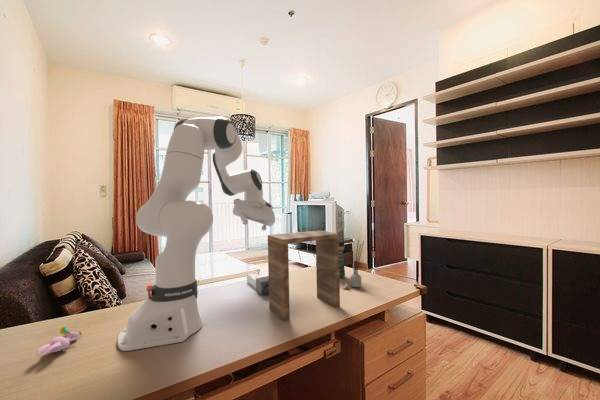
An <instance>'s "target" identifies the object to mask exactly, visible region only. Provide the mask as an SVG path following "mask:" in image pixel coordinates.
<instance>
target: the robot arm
mask: <svg viewBox="0 0 600 400" xmlns="http://www.w3.org/2000/svg"><path fill="white" fill-rule="evenodd" d="M173 127H174V128H173V131H172V134H171V136H170V138H169V142H168V145H167V148H166V153H165V158H164V163H163V167H162V172H161V176H160V179H159V181H158V183H157V186H156V188H155V189H154V191H153V193H152V194H151V195H150V197H149V199H148V200H147V201H146V202H145V203H144V204H143V205H141V206H140V208H138V210H137V212H136V216H135V222H136V226H137V227H138V229H139V231H141V232H143V233H146V234H148V235H151V236H155V237H165V238H166V241H165V242H166V243H165V247H164V249H163V250H162V252H160V253H159V254H158V255H157V256H156V258H155V261H154V265H155V284H154V285H153V283H150V284H147V286H146V287H145V289H146V292H147V297H148V299H146V301H144V302H143V303H142V304H141V305H139V307H137V308H136V309H135V310H133V311H132V312H131V314H130V316H129V318H128V321H127V323H126V327H125V328H124V329H123V330H122V331H121V332H120V333H119V335H118V337H117V347H118V349H119V350H121V351H123V352H128V351H134V350H140V349H141V350H142V349H147V348H153V347H154V348H155V347H159V346H165V345H170V344H177V343H181V342H185V341H186V340H187V339H188V338H189V337H190V336H191V335H193V334H195V333H196V332H199V330H200V329H201V328H202V326H203V321H202V318H201V315H200V311H199V307H198V300H197V299H198V296H199V295H198V293H199V291H198V290H199V289H198V281H197V278H196V255H197V250H198V248H199V245H200V242H201V241H202V239H203V238H204V237H205V236H206V235H208V233H209V232H210V231H211V228H212V227H213V223H214V214H213V211H212V209H211V208H210V207H209V206H208V204H205V203H203V202H198V201H194V200H187V199H188V196H190V194H191V193H192V192H193V191H195V190H196V189H197V188H198V187H199V185H200V183H201V177H202V171H203V165H204V159H205V158H204V157H205V150H206V151H211V150H214V153H213V154H212V163H213V167H214V170H215V172H216V175H217V177H218V180H219V182H220V186H221V190H222V191H223V193H224V194H225V195H226V196H230V197H232V196H235V195H238V194H241V193H244V196H245V199H244V200H243V199H240V198H235V199H234V200H233V204H234V205H233V209H232V214H233V215H234V216H235V217H240V220H241V221H242V225H245V226H246V225H247V224H248V221H253V222H256V223H259V224H262V226H261V231H264V232H265V231H266V230H267V227H272V226H273V225H274V224H275V222H276V216H275V212H274V210H273V209H274V207H273V205H272V204H271V203H269V202H267V201H266V200H265V199H264V197H263V195H264V189H263V181H262V178H261V175H260V173H259V172H257V171H256V170H254V169H252V168H250V169H246V170H243V171H242V170H241V171H240V172H235V173H228V170H227V166H229V165H231V164H233V163H234V162H236V161H237V160H238V159H239V158H240V156H241V155H242V153H243V144H242V140H241V138H240V136H239V133H238V132H237V130H236V127H235V125H234V123H233V122H232V121H231V120H230V119H228V118H225V117H224V116H219V115H218V116H214V117H204V116H203V117H201V116H200V117H193V118H184V119H181V120H179V121H177V122H176V124H175V125H174V126H173Z"/></svg>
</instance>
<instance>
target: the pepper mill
mask: <svg viewBox="0 0 600 400" xmlns="http://www.w3.org/2000/svg"><path fill="white" fill-rule="evenodd" d="M246 283H247V284H248V285H249V286H251V287H252V288H253V289H254V290H255V292H256V293H257V294H259V295H260V296H261V297H263V296H267V295H268V296H269V275H267V276H261V275H259V274H258V273H256V272H252V273H246Z"/></svg>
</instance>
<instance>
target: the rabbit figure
mask: <svg viewBox="0 0 600 400" xmlns="http://www.w3.org/2000/svg"><path fill="white" fill-rule="evenodd" d="M59 333H60V334H61V335H63V336H55V337H53V338H51V339H50V340H49V341H48V342H47V343H46V344H44V345H41V346H40V347H38V348H37V350H36V353H35V354H36V357H38V356H40V355H41V354H42V353H43V355H44V356H46V355H47V354H49V353H59V352H61V351H60V350H62V349H63V350H66V349H67V348H68V347H69V346H70V344H71V343H73V342H76V341H78V339H80V337H82V336H83V334H82V330H78V331H77V332H75V331H72V330H71V331H69V329H67V326H66V325H64V326H62V327H61V328H60V332H59ZM75 340H76V341H75ZM63 350H62V351H63ZM58 351H59V352H58Z"/></svg>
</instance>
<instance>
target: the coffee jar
mask: <svg viewBox="0 0 600 400" xmlns="http://www.w3.org/2000/svg"><path fill="white" fill-rule="evenodd" d="M344 240H345V239H342V238H340V237H339V279H342V278H344V277H345V276H346V270H345V261H344V251H345V247H346V246H345V241H344Z"/></svg>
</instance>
